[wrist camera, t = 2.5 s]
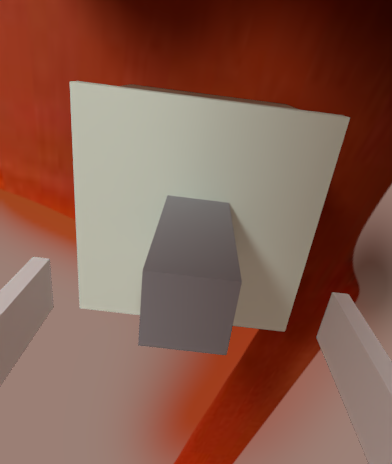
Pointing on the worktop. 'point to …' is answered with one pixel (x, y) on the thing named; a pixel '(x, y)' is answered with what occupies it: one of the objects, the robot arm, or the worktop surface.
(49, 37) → the worktop surface
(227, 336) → the lid
